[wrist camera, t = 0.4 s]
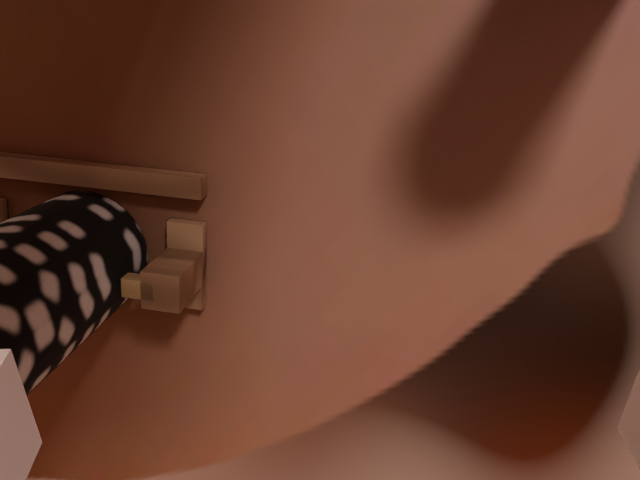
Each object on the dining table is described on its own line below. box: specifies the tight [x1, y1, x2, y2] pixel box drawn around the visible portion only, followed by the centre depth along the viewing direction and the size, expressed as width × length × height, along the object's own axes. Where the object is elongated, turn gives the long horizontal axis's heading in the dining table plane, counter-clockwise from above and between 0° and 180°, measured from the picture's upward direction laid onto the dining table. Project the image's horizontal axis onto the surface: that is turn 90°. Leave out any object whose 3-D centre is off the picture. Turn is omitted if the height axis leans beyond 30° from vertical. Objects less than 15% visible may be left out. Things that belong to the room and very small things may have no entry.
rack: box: [0, 152, 207, 314], centre depth 39 cm, size 9×16×5 cm, turn 86°
